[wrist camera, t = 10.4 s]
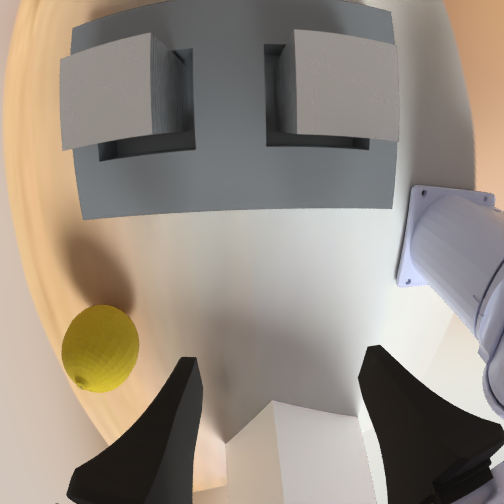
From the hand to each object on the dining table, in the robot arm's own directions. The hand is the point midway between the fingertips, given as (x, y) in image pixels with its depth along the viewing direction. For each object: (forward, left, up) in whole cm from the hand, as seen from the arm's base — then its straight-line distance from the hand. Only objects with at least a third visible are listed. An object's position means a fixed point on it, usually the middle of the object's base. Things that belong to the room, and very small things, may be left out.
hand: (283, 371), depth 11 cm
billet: (-2, -11, -9) cm, 14 cm away
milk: (-3, +23, -10) cm, 25 cm away
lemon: (+12, +4, -10) cm, 16 cm away
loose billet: (+7, -11, -9) cm, 16 cm away
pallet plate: (+2, -11, -9) cm, 15 cm away
